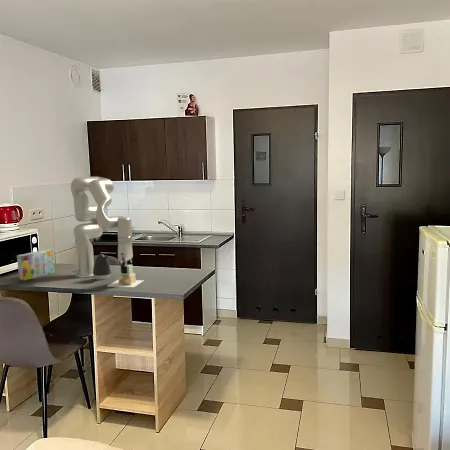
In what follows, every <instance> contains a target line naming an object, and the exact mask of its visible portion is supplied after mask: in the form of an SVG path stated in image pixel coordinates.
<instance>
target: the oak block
mask: <svg viewBox="0 0 450 450" xmlns="http://www.w3.org/2000/svg"><path fill="white" fill-rule="evenodd" d="M136 276H137V275H136V273H135V272H133V274H131V275H130V276H123V275H121V274H119V275H118V280H119V285H132V284H133V283H135V282H136V280H137V279H136V278H137V277H136Z"/></svg>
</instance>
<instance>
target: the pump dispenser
mask: <svg viewBox="0 0 450 450" xmlns="http://www.w3.org/2000/svg"><path fill="white" fill-rule="evenodd" d="M108 258H109V255H105V254H104V253H99V254H98V255H97V256H96V257H95V260H94V267H93V275H94V276H93V277H94V279H95V280H97V281H100V280H108V279H109V278H110V276H111V273H112V269H111V264H110V262H109V259H108Z"/></svg>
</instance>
